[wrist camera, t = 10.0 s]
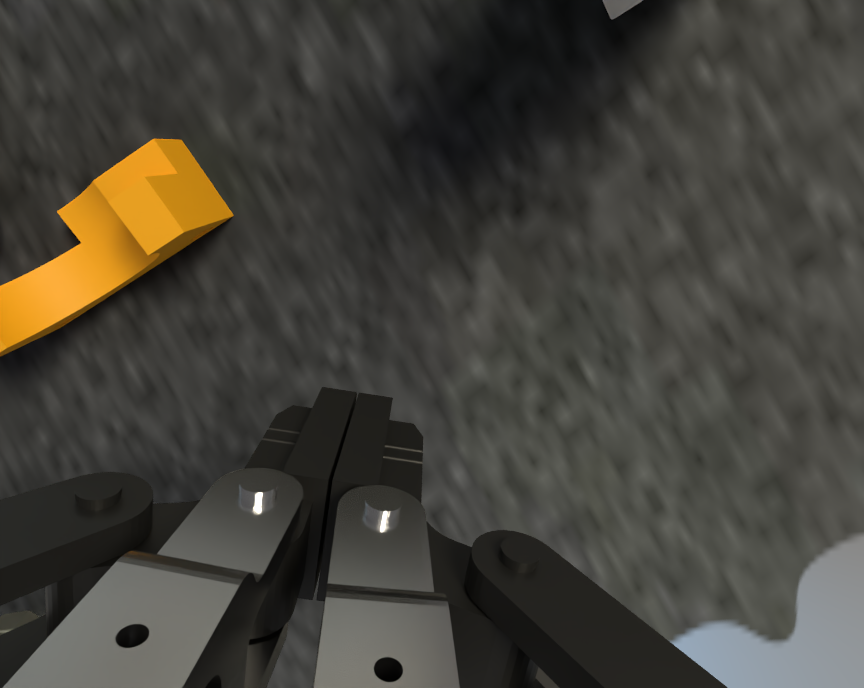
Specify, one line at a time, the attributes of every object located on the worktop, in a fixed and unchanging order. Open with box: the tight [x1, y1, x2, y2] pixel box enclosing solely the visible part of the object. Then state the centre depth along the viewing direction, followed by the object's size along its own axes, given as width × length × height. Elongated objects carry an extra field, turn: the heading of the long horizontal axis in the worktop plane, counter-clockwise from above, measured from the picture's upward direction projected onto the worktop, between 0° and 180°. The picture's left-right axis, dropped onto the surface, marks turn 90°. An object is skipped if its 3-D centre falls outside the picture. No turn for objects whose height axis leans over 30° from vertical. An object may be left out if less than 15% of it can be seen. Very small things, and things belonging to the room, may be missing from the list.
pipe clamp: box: [0, 139, 234, 357], centre depth 28 cm, size 12×4×6 cm, turn 121°
